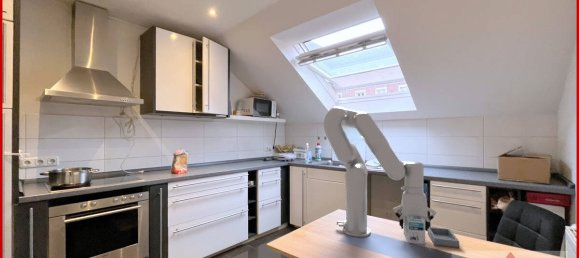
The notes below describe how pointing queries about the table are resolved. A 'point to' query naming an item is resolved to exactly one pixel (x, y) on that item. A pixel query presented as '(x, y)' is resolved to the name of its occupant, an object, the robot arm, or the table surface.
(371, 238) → the table surface
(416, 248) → the table surface
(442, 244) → the tray
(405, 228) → the light bulb box
